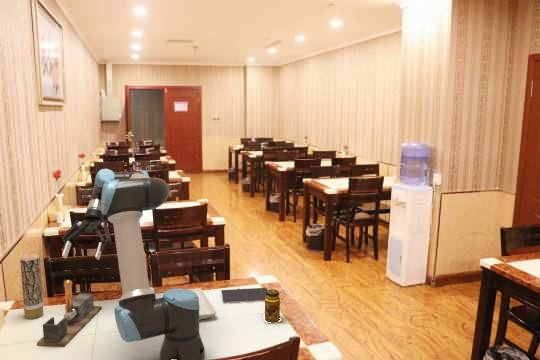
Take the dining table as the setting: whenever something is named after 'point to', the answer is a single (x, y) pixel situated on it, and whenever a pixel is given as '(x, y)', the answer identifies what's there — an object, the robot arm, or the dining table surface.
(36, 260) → the grey patterned cylinder
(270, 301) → the condiment
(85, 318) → the stand
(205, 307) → the square plate
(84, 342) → the dining table surface
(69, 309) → the wooden handle lever
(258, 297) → the notebook
